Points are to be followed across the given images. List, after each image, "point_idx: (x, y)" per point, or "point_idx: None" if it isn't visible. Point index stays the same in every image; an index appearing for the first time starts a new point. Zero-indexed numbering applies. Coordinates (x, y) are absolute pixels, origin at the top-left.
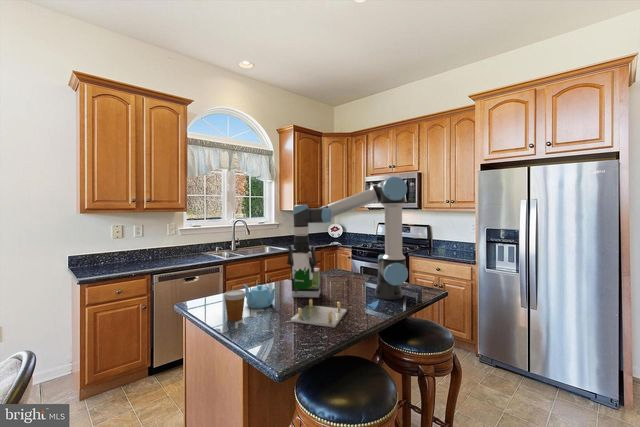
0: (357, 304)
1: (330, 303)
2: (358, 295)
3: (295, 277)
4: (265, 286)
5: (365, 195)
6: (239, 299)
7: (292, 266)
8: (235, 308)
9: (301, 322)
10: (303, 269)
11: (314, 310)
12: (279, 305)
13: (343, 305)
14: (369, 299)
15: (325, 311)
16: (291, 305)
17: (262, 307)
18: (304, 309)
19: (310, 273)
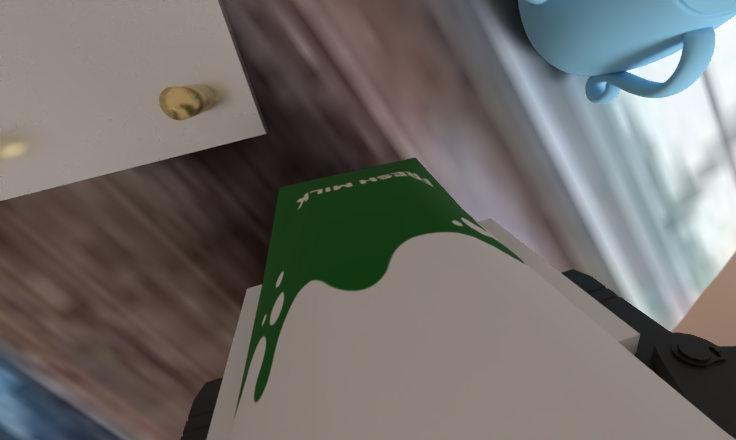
0: (53, 341)
1: (198, 271)
2: (174, 436)
3: (430, 189)
4: (704, 55)
5: None
6: None
7: (629, 331)
8: None
9: None
10: (290, 315)
11: (118, 46)
12: (461, 53)
13: (104, 286)
14: (76, 426)
15: (26, 75)
16: (386, 102)
17: None
18: (203, 22)
19: (234, 350)
